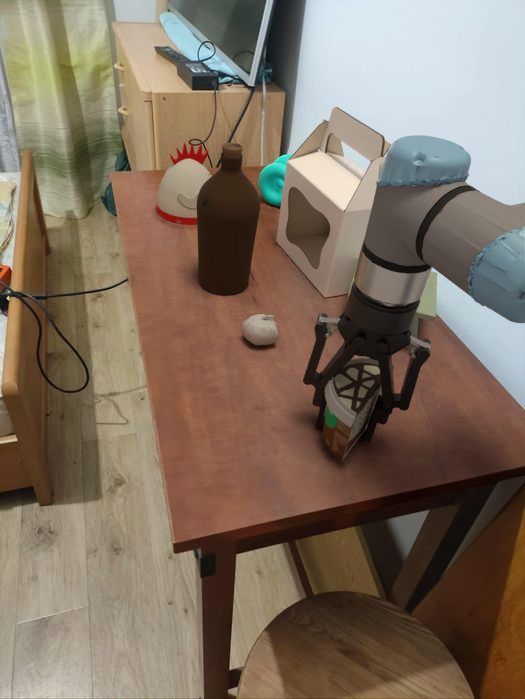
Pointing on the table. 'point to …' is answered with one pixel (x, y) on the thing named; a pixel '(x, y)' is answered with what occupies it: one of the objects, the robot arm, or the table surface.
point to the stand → (423, 303)
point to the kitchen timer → (182, 186)
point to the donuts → (273, 180)
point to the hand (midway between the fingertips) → (343, 427)
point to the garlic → (260, 329)
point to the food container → (350, 404)
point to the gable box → (330, 201)
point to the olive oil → (227, 226)
